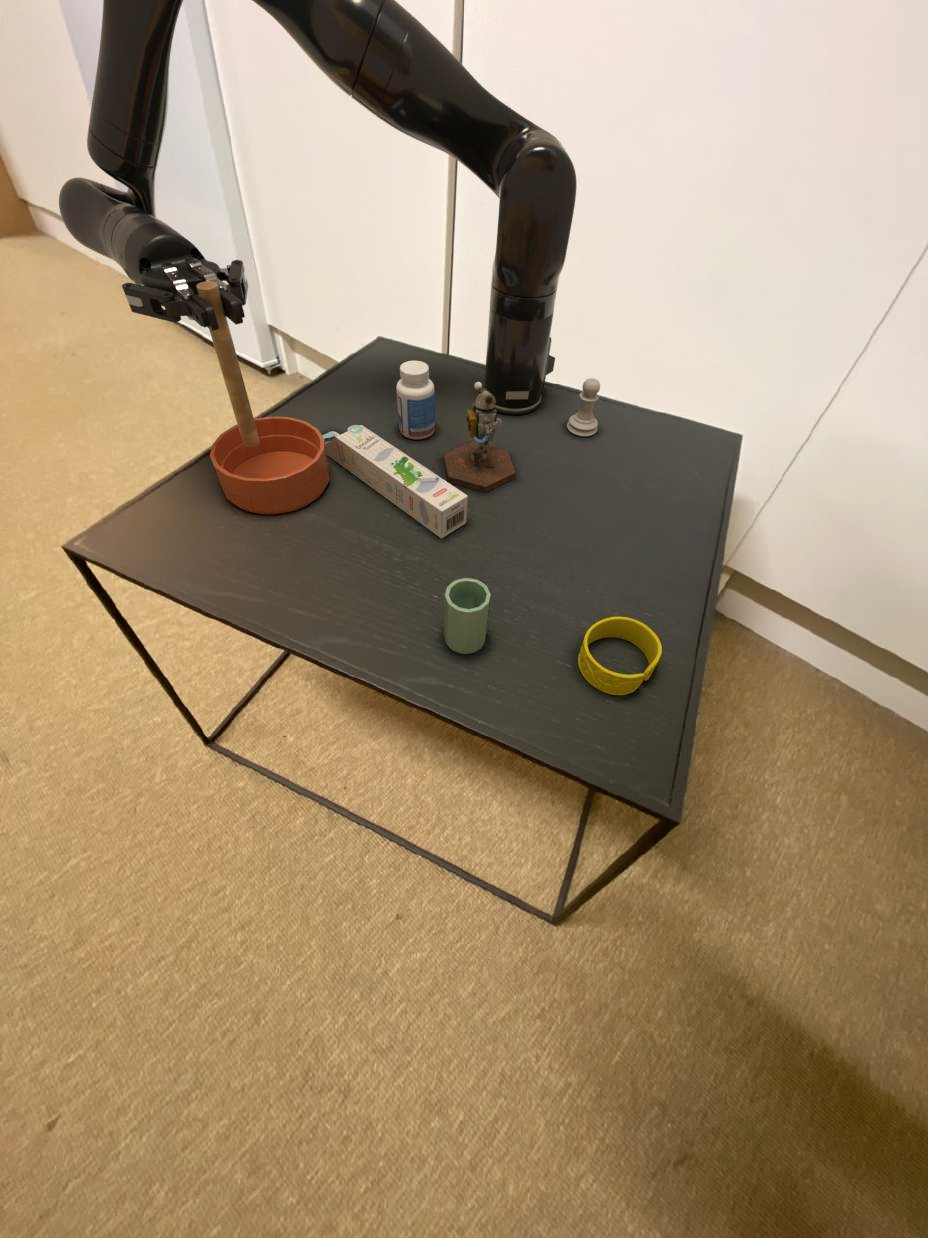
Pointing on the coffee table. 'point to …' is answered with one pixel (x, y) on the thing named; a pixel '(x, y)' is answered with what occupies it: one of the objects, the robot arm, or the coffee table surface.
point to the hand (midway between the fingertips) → (225, 316)
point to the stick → (230, 365)
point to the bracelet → (626, 631)
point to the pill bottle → (415, 401)
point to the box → (399, 479)
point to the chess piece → (585, 411)
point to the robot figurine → (480, 450)
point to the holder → (466, 615)
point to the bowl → (272, 466)
